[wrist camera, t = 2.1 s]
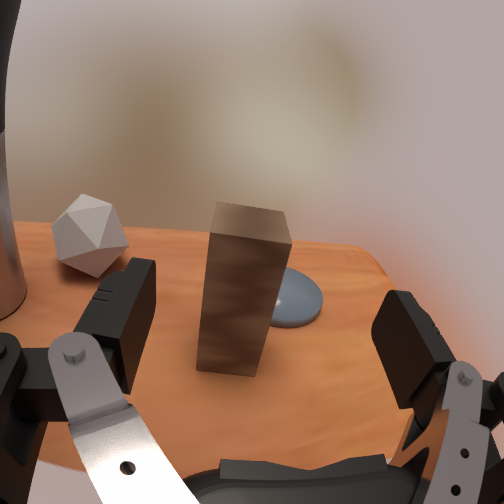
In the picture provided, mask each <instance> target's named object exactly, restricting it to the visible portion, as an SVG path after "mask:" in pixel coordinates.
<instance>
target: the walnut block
mask: <svg viewBox="0 0 504 504" xmlns="http://www.w3.org/2000/svg"><path fill="white" fill-rule="evenodd" d="M291 246H292V242H291V238H290V234H289V231H288V227H287V223H286V219H285V216H284V212H281V211H275V210H269V209H262V208H256V207H249V206H243V205H236V204H229V203H222V202H217V204H216V208H215V213H214V218H213V222H212V226H211V231H210V238H209V246H208V254H207V263H206V272H205V281H204V290H203V299H202V309H201V319H200V329H199V340H198V352H197V363H196V370H200V371H207V372H216V373H224V374H233V375H243V376H254V377H255V373H256V370H257V367H258V363H259V360H260V357H261V353H262V350H263V347H264V343H265V340H266V336H267V333H268V329H269V326H270V323H271V319H272V316H273V312H274V309H275V305H276V301H277V298H278V294H279V291H280V287H281V283H282V280H283V276H284V273H285V269H286V265H287V261H288V258H289V254H290V250H291Z"/></svg>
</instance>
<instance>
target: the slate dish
mask: <svg viewBox="0 0 504 504" xmlns="http://www.w3.org/2000/svg"><path fill="white" fill-rule="evenodd" d="M322 303H323V296H322V293H321V290H320V289H319V287H318V286H317V285H316V283H315V282H314V281H312V280H311V279H310V278H309V277H307V276H306V275H304V274H302V273H300V272H298V271H296V270H294V269H291V268H288V267H286V269H285V273H284V276H283V280H282V283H281V287H280V291H279V294H278V298H277V301H276V305H275V309H274V312H273V316H272V319H271V323H270V326H275V327H282V328H294V327H300V326H303V325H306V324H308V323H310V322H312V321H313V320H314V319H315V318H316V317H317V315H318V313H319V311H320V308H321V306H322Z"/></svg>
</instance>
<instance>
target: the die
mask: <svg viewBox="0 0 504 504" xmlns="http://www.w3.org/2000/svg"><path fill="white" fill-rule="evenodd" d="M51 226H52V231H53V236H54V242H55V246H56V251H57V256H58V260H59V261H60V262H62V263H65V264H67V265H69V266H71V267H73V268H76V269H78V270H80V271H82V272H85V273H87V274H89V275H91V276H94V277H96V278H99V277H100V276H101V275H102V274H103V272H104V271H105V270H106V269H107V268H108V267H109V266H110V265H111V264H112V263H113V262H114V261H115V260H116V259H117V258H118V257H119V256H120V255H121V254H122V253H123V252H124V250H125V249H126V248H127V247H128V246H129V244H128V241H127V239H126V236H125V234H124V231H123V228H122V226H121V223H120V221H119V218H118V216H117V213H116V211H115V209H114V206H113V205H112V204H110V203H107V202H104V201H101V200H98V199H96V198H93V197H90V196H87V195H84V194H81V196H79V198H77V200H75V201H74V202H73V204H71V205H70V206H69V207H68V208H67V210H66V211H65V212H64V213H63V214H62V215H61V216H60V217H59V218H58V219H57V220H56V221H55V222H54V223H53V224H52V225H51Z"/></svg>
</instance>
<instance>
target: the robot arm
mask: <svg viewBox="0 0 504 504" xmlns="http://www.w3.org/2000/svg"><path fill="white" fill-rule="evenodd" d="M20 4H21V0H0V319H2V318H4V317H6V316H8V315H9V314H11V313H12V312H13V311H14V310H15V309H16V308H18V307H19V305H20V304H21V303H22V301H23V299H24V297H25V295H26V290H27V288H26V282H25V278H24V273H23V268H22V265H21V261H20V257H19V251H18V247H17V242H16V236H15V231H14V225H13V219H12V213H11V206H10V198H9V189H8V180H7V169H6V154H5V130H4V129H5V91H6V77H7V68H8V61H9V54H10V48H11V44H12V39H13V34H14V30H15V25H16V21H17V17H18V13H19V9H20ZM155 307H156V263H155V260H149V259H142V258H135V257H132V258H131V260H130V261H129V263H128V265H127V267H126V269H125V270H124V272H123V271H117V270H115V271H113V272H112V273H110V274H109V275H108V276H106V277H105V278H104V279H103V280H102V282H101V284H100V285H99V287H98V289H97V291H96V292H95V294H94V295H93V297H92V300H90V302H89V304H88V306H87V307H86V309H85V311H84V313H83V315H82V316H81V318H80V320H79V322H78V324H77V325H76V327H75V329H74V331H73V332H70V333H66V334H63V335H61V336H59V337H58V338H57V339H55V340H54V341H53V343H52V344H51V345H50V347H48V348H21V345H20V343H19V341H18V339H17V338H16V337H15V336H13V335H12V334H9V333H0V504H27V500H28V496H29V491H30V486H31V482H32V478H33V474H34V470H35V466H36V462H37V458H38V455H39V451H40V447H41V444H42V441H43V437H44V434H45V430H46V427H47V424H48V422H69V424H68V427H69V430H70V433H71V436H72V438H73V441H74V443H75V445H76V448H77V450H78V453H79V455H80V457H81V459H82V462H83V464H84V466H85V468H86V470H87V472H88V474H89V476H90V478H91V480H92V482H93V484H94V486H95V488H96V490H97V492H98V494H99V496H100V498H101V500H102V501H103V503H104V504H504V458H503V459H502V460H501V457H500V455H499V452H498V449H497V447H496V444H495V441H494V439H493V436H492V434H491V431H492V430H493V429H494V428H495V427H496V426H497V425H498V424H500V423H501V422H502V421H503V423H504V372H502V373H500V375H499V376H498V377H497V378H496V380H495V381H494V382H491V381H486V380H482V378H481V375H480V374H479V372H478V371H477V370H476V369H475V368H474V367H473V366H472V365H470V364H468V363H466V362H463V361H457V360H456V359H455V357H454V355H453V354H452V352H451V350H450V348H449V347H448V345H447V344H446V342H445V340H444V338H443V337H442V335H440V332H439V330H438V328H437V327H435V324H434V322H433V321H432V319H431V317H430V316H429V314H428V313H426V312H425V311H424V310H423V309H422V308H421V307H420V306H419V304H418V303H417V301H416V300H415V298H414V297H413V295H412V294H411V293H410V292H408V291H399V290H390V291H389V292H388V293H387V294H386V296H385V298H384V301H383V303H382V305H381V307H380V309H379V311H378V313H377V315H376V317H375V320H374V322H373V324H372V329H371V335H372V340H373V342H374V345H375V347H376V350H377V352H378V354H379V357H380V359H381V362H382V365H383V367H384V370H385V372H386V375H387V377H388V380H389V383H390V385H391V388H392V390H393V393H394V396H395V399H396V401H397V404H398V407H399V409H407V408H413V410H414V412H413V413H412V414H411V415H410V417H409V419H408V422H407V424H406V427H405V430H404V432H403V435H402V438H401V440H400V443H399V445H398V447H397V450H396V452H395V455H394V457H393V458H392V460H391V461H390V463H389V464H387V463H386V459H385V456H384V454H379V455H371V456H363V457H354V458H348V459H345V460H342V461H340V462H337V463H334V464H331V465H328V466H324V467H321V468H318V469H315V470H304V469H298V468H293V467H288V466H284V465H279V464H275V463H271V462H266V461H244V460H228V459H221V460H220V464H219V468H218V469H213V470H207V471H203V472H199V473H196V474H194V475H191V476H188V477H186V478H184V479H182V480H181V478H180V477H179V476H178V474H177V473H176V471H175V470H174V469H173V467H172V466H171V464H170V463H169V461H168V460H167V458H166V457H165V455H164V454H163V452H162V451H161V449H160V448H159V446H158V445H157V443H156V441H155V440H154V438H153V437H152V435H151V433H150V432H149V430H148V429H147V427H146V425H145V424H144V422H143V420H142V418H141V417H140V415H139V413H138V412H137V410H136V409H135V407H134V406H133V405H132V404H129V403H128V402H127V400H126V399H125V397H124V395H123V393H124V394H129V395H130V393H131V389H132V386H133V382H134V379H135V375H136V372H137V369H138V365H139V362H140V359H141V355H142V352H143V349H144V345H145V342H146V339H147V336H148V333H149V330H150V327H151V323H152V320H153V317H154V313H155Z"/></svg>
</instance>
